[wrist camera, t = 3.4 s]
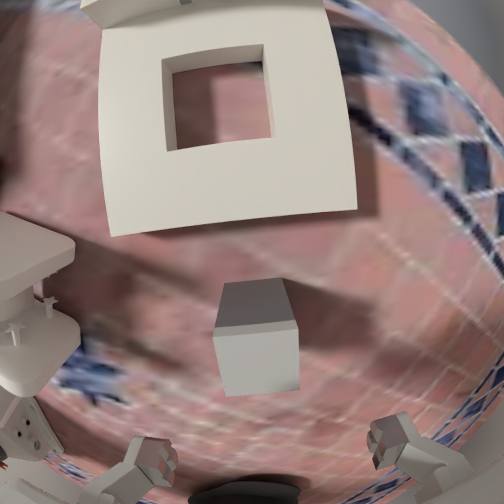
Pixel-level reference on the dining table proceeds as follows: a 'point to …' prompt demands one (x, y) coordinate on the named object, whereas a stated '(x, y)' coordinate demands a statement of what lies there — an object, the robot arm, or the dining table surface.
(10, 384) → the cable organizer
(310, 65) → the outlet block
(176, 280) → the dining table surface
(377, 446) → the robot arm
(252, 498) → the casserole
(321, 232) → the dining table surface
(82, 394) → the dining table surface
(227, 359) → the block
